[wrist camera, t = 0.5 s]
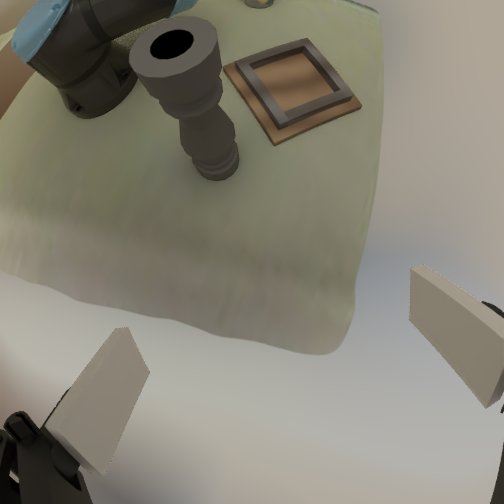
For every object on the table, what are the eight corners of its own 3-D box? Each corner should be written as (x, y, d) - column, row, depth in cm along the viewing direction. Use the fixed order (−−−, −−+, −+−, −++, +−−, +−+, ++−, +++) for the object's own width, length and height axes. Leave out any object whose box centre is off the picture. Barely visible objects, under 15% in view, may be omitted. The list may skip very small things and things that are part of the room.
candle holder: (215, 189, 38) (158, 99, 13) (187, 160, 38) (109, 55, 13) (248, 160, 38) (243, 39, 13) (219, 132, 38) (183, 4, 13)
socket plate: (223, 70, 37) (221, 59, 34) (306, 41, 37) (308, 30, 34) (273, 146, 38) (275, 137, 34) (359, 109, 37) (366, 100, 34)
